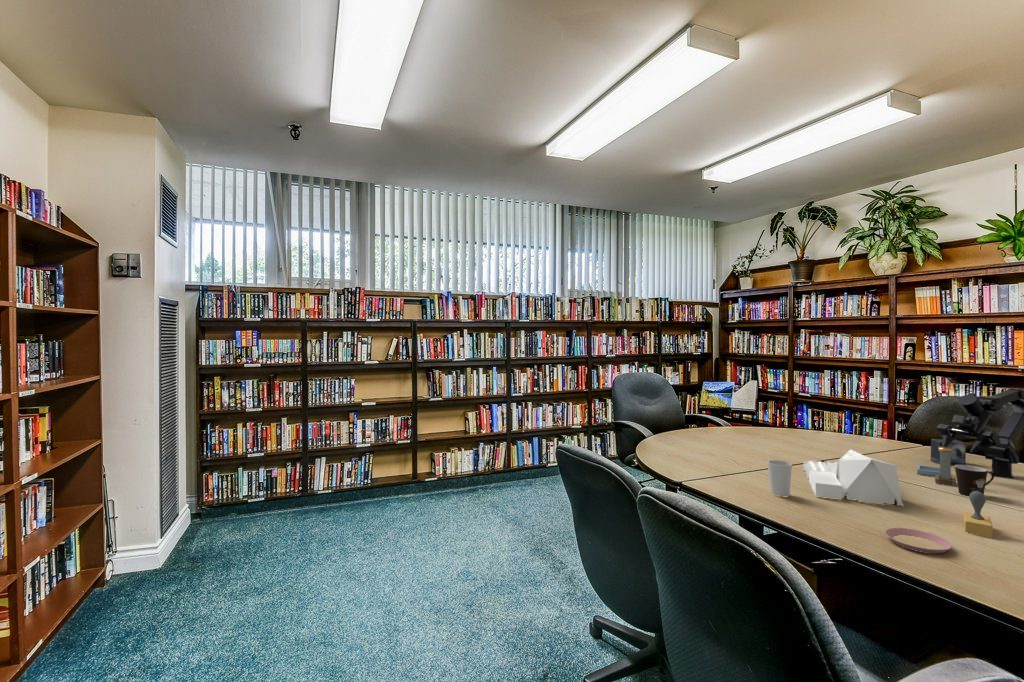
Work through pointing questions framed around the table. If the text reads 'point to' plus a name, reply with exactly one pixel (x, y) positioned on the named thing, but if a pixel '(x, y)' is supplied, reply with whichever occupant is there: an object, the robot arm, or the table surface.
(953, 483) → the block
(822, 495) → the white faceted model
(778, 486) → the cup
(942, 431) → the robot arm
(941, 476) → the pin
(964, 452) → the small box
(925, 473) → the tray
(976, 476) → the coffee mug
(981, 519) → the rubber stamp
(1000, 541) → the table surface
